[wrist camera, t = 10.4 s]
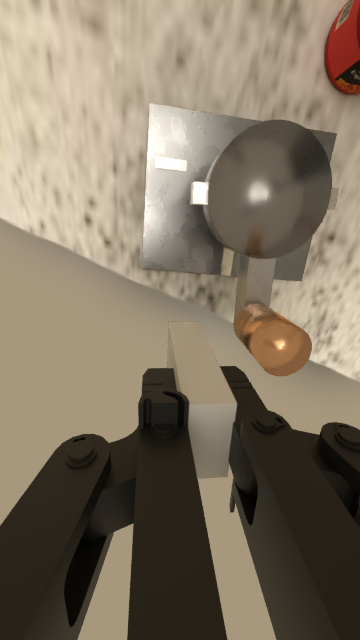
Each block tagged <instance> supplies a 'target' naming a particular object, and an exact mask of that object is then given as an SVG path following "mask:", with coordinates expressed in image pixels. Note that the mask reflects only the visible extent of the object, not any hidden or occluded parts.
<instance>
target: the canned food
mask: <svg viewBox="0 0 360 640" xmlns="http://www.w3.org/2000/svg"><path fill="white" fill-rule="evenodd" d="M325 60H326V68H327V72H328V75H329V77H330V79H331V81H332V82H333V84H334V85H335V86H336V87H337V88H338V89H339V90H341V91H343V92H345V93H349V94H353V93H360V0H349V1H348V2H347V3H346V4H345V6H344V7H343V8H342V10H341V11H340V12H339V14H338V16H337V18H336V20H335V22H334V24H333V26H332V28H331V30H330V33H329V36H328V40H327V44H326V53H325Z"/></svg>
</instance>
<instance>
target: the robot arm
mask: <svg viewBox="0 0 360 640" xmlns="http://www.w3.org/2000/svg"><path fill="white" fill-rule="evenodd" d="M138 408H139V409H138V412H139V426H138V427H137V429H136V430H135V431H134V432H133V433H132V434H130V435H129V436H127V437H125V438H123V439H120V440H118V441H115V442H111V443H108V442H107V441H106V440H105V439H104V438H103V437H101V436H98V435H95V434H82V435H79V436H75V437H72V438H70V439H69V440H67V441H65V442H63V443H62V444H61V445H60V446H59V447H58V448H57V449H56V450H55V452H54V453H53V454H52V456H51V457H50V458H49V460H48V461H47V462H46V464H45V465H44V467H43V468H42V469H41V471H40V472H39V473H38V475H37V476H36V478H35V479H34V480H33V482H32V483H31V485H30V486H29V487H28V489H27V490H26V491H25V493H24V494H23V495H22V497H21V498H20V499H19V501H18V502H17V504H16V505H15V506H14V508H13V509H12V510H11V512H10V513H9V515H8V516H7V518H6V519H5V520H4V522H3V523H2V524H1V526H0V640H77V639H78V636H79V633H80V630H81V627H82V625H83V621H84V619H85V616H86V613H87V610H88V607H89V604H90V601H91V598H92V595H93V592H94V589H95V587H96V584H97V581H98V578H99V575H100V572H101V569H102V566H103V563H104V560H105V557H106V554H107V551H108V549H109V545H110V542H111V540H112V537H113V532H115V531H117V530H119V529H121V528H124V527H126V526H128V525H130V524H133V523H134V526H133V545H132V563H131V582H130V600H129V619H128V637H127V640H227V636H226V630H225V625H224V619H223V614H222V609H221V603H220V598H219V592H218V587H217V582H216V577H215V571H214V565H213V560H212V555H211V549H210V544H209V538H208V533H207V528H206V523H205V517H204V511H203V506H202V501H201V496H200V490H199V484H198V479H201V478H217V477H227V476H228V469H229V464H230V467H231V470H232V473H233V476H234V478H233V484H232V491H231V498H230V512H234V508H235V503H236V506H237V509H238V513H239V516H240V519H241V523H242V526H243V529H244V533H245V536H246V539H247V542H248V546H249V549H250V552H251V556H252V559H253V563H254V566H255V569H256V573H257V576H258V579H259V583H260V586H261V589H262V593H263V596H264V599H265V603H266V606H267V609H268V613H269V616H270V619H271V623H272V626H273V629H274V632H275V636H276V639H277V640H360V430H359V429H357V428H355V427H352V426H349V425H347V424H343V423H337V422H333V423H327V424H325V425H324V426H323V427H322V429H321V432H320V435H317V434H312V433H307V432H302V431H298V430H293V429H292V428H291V427H290V425H289V424H288V423H287V421H286V420H285V419H284V418H283V417H281V416H280V415H278V414H276V413H275V412H271V411H268V410H267V409H266V407H265V405H264V404H263V402H262V400H261V399H260V398H259V396H258V394H257V393H256V391H255V389H253V387H252V384H251V383H250V382H249V380H248V378H247V376H246V375H245V373H244V372H242V371H241V370H240V369H238V368H237V367H236V366H219V364H218V362H217V360H216V358H215V356H214V354H213V352H212V350H211V348H210V346H209V343H208V341H207V339H206V337H205V335H204V333H203V331H202V329H201V327H200V325H199V322H169V323H168V361H167V368H151V369H148V370H147V371H146V372H145V373H144V375H143V382H142V397H141V398H140V401H139V403H138Z"/></svg>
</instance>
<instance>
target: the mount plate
mask: <svg viewBox="0 0 360 640" xmlns="http://www.w3.org/2000/svg"><path fill="white" fill-rule="evenodd" d="M261 122H262V121H256V120H250V119H244V118H238V117H232V116H226V115H220V114H214V113H207V112H201V111H195V110H189V109H183V108H177V107H171V106H165V105H159V104H153V103H150V110H149V130H148V151H147V172H146V192H145V213H144V234H143V254H142V269H151V270H164V271H177V272H190V273H203V274H216V275H226V276H238V273H239V262H240V254H239V253H236V252H233V251H231V250H229V249H228V248H226V247H225V246H223V245H222V244H221V243H220V242H219V241H218V240H217V239H216V238H215V236H214V235H213V234H212V232H211V230H210V228H209V227H208V224H207V222H206V219H205V215H204V210H203V205H190V201H191V184H192V183H193V182H205V180H206V177H207V174H208V171H209V169H210V167H211V165H212V163H213V162H214V160H215V159H216V157H217V156H218V155H219V154H220V153H221V151H222V150H223V149H224V148H225V147H226V146H227V145H228V144H229V143H230V142H231V141H232V140H233V139H235V138H236V137H237V136H238V135H239V134H240V133H242V132H243V131H244V130H246V129H247V128H249V127H251V126H253V125H255V124H258V123H261ZM307 130H309V131H310V132H311V133H312V134H313V135H314V136H315V137H316V138H317V139H318V140H319V142H320V143H321V145H322V146H323V148H324V150H325V152H326V154H327V157H328V160H329V163H330V160H331V156H332V152H333V148H334V143H335V139H336V135H337V134H336V133H329V132H323V131H317V130H311V129H307ZM311 239H312V236H311V237H310V238H309V239H308V241H307V242H305V243H304V244H303V245H302V246H301V247H299V248H298V249H296V250H295V251H293V252H291V253H289V254H287V255H284V256H281V257H278V258H276V261H275V269H274V276H273V279H281V280H294V281H302V277H303V273H304V268H305V264H306V260H307V256H308V252H309V248H310V243H311Z"/></svg>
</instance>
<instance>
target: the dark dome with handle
mask: <svg viewBox="0 0 360 640" xmlns="http://www.w3.org/2000/svg"><path fill="white" fill-rule="evenodd" d="M338 190H339V189H338V188H332V175H331V168H330V163H329V160H328V157H327V154H326V152H325V150H324V148H323V146H322V145H321V143H320V142H319V140H318V139H317V138H316V137H315V136H314V135H313V134H312V133H311V132H310V131H309V130H307V129H306V128H304V127H303V126H301V125H299V124H296V123H294V122H291V121H285V120H270V121H264V122H261V123H258V124H255V125H253V126H251V127H249V128H247V129H246V130H244V131H243V132H242V133H240V134H239V135H238V136H237V137H236V138H235V139H233V140H232V141H231V142H230V143H229V144H228V145H227V146H226V147H225V148H224V149H223V150H222V151H221V153H220V154H219V155H218V156H217V157H216V159H215V160H214V162H213V163H212V165H211V167H210V169H209V171H208V174H207V177H206V180H205V182H193V183H192V184H191V201H190V205H203V210H204V215H205V219H206V222H207V224H208V227H209V228H210V230H211V232H212V234H213V235H214V236H215V238H216V239H217V240H218V241H219V242H220V243H221V244H222V245H223V246H225V247H226V248H228V249H229V250H231V251H233V252H236V253H239V254H240V262H239V273H238V283H237V294H236V304H235V314H234V331H235V334H236V336H237V337H238V338H239V339H240V341H241V342H242V343H243V344H244V345H245V347H246V348H247V349H248V350H249V352H250V353H251V354H252V355H253V356H254V358H255V359H256V360H257V361H258V363H259V364H260V365H261V366H262V368H263V369H264V370H265V371H266V372H268V373H269V374H272V375H275V376H287V375H290V374H293V373H295V372H296V371H298V370H299V369H301V368H302V367H303V366H304V365H305V364H306V362H307V361H308V359H309V357H310V354H311V350H312V343H311V339H310V337H309V335H308V334H307V333H306V332H305V331H304V330H302V329H301V328H299V327H298V326H296V325H295V324H293V323H292V322H290V321H289V320H287V319H286V318H284V317H283V316H281V315H280V314H278V313H277V312H275V311H274V310H272V309H271V308H269V304H270V297H271V290H272V283H273V276H274V269H275V261H276V258H278V257H281V256H284V255H287V254H289V253H291V252H293V251H295V250H296V249H298V248H299V247H301V246H302V245H303V244H304V243H305V242H307V241H308V239H309V238H310V237H311V236H312V235H313V234H314V233H315V231H316V230H317V229H318V227H319V225H320V224H321V222H322V220H323V218H324V216H325V214H326V211H327V210H330V209H335V206H336V201H337V196H338Z"/></svg>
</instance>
